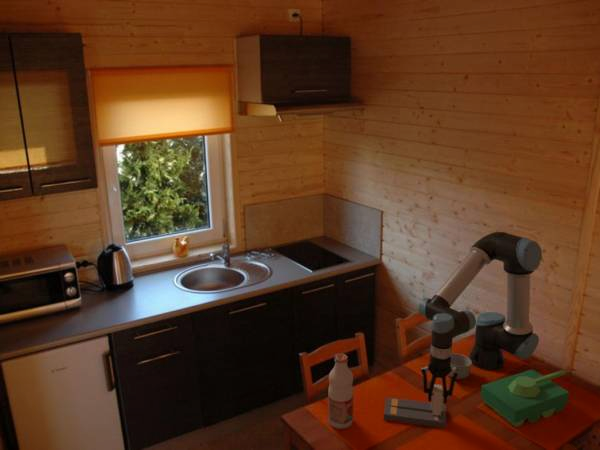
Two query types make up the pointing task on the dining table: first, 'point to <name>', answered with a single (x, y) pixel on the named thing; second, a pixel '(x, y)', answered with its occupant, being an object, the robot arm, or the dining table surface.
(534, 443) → the dining table surface
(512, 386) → the toy tank
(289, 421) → the dining table surface
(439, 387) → the block
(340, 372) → the fruit juice
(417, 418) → the panel
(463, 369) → the teacup
